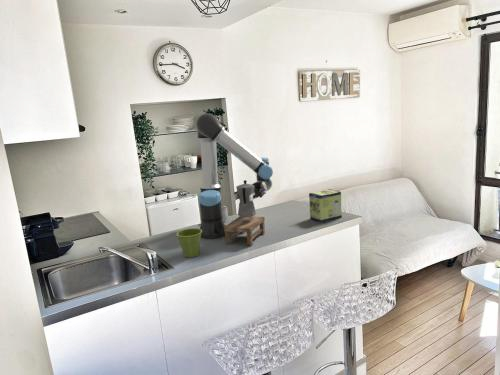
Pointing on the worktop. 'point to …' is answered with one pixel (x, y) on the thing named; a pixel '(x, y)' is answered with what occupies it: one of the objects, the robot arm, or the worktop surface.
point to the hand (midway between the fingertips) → (242, 198)
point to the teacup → (224, 213)
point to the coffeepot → (245, 200)
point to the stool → (244, 228)
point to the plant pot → (190, 241)
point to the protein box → (325, 205)
